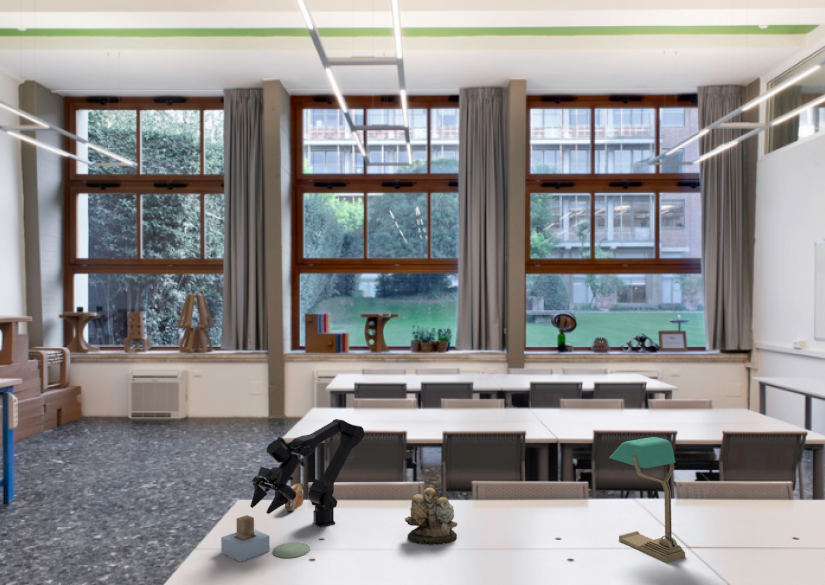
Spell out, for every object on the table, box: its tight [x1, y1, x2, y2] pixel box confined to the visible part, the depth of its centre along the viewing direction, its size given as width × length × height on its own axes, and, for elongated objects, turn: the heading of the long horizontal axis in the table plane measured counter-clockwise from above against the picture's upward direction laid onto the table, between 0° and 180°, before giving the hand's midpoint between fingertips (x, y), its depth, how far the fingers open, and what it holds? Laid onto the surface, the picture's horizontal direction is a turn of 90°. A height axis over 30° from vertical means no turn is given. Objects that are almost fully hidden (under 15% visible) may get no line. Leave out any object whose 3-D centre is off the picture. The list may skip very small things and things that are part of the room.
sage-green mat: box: [272, 541, 311, 559], centre depth 202 cm, size 12×12×1 cm
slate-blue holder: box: [220, 528, 270, 563], centre depth 201 cm, size 11×11×5 cm
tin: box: [284, 482, 305, 512], centre depth 244 cm, size 15×3×8 cm, turn 168°
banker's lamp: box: [609, 436, 686, 563], centre depth 201 cm, size 16×21×35 cm
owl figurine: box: [404, 487, 458, 546], centre depth 211 cm, size 18×12×17 cm, turn 95°
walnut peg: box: [236, 514, 255, 541], centre depth 201 cm, size 4×4×9 cm
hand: (259, 510), depth 205 cm, fingers open, 9 cm apart
